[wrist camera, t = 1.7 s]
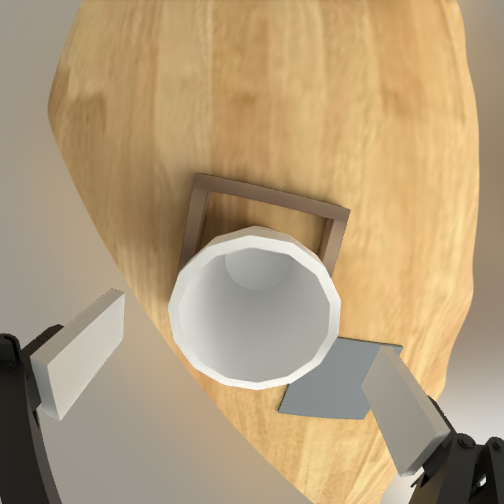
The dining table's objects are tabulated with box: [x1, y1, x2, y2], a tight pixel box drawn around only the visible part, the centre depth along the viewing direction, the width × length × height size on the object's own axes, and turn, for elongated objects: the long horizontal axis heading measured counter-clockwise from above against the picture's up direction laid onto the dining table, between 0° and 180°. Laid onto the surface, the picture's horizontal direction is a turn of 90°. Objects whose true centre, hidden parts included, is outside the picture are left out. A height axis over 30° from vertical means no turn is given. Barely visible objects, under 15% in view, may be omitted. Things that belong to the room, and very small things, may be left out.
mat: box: [278, 337, 403, 420], centre depth 31 cm, size 12×12×1 cm
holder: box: [177, 173, 350, 278], centre depth 27 cm, size 13×13×2 cm
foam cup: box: [168, 225, 341, 390], centre depth 22 cm, size 10×9×13 cm
